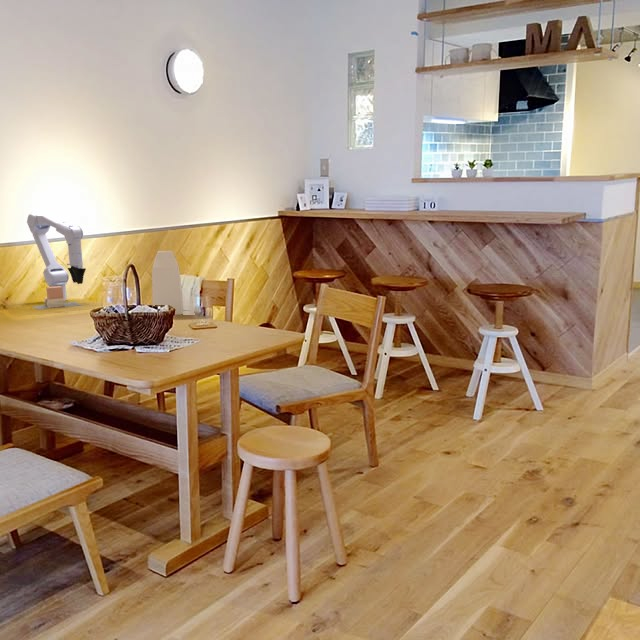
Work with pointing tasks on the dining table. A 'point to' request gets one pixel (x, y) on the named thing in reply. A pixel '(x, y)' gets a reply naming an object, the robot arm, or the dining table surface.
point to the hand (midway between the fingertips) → (77, 283)
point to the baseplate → (57, 307)
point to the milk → (167, 281)
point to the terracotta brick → (54, 292)
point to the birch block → (54, 302)
